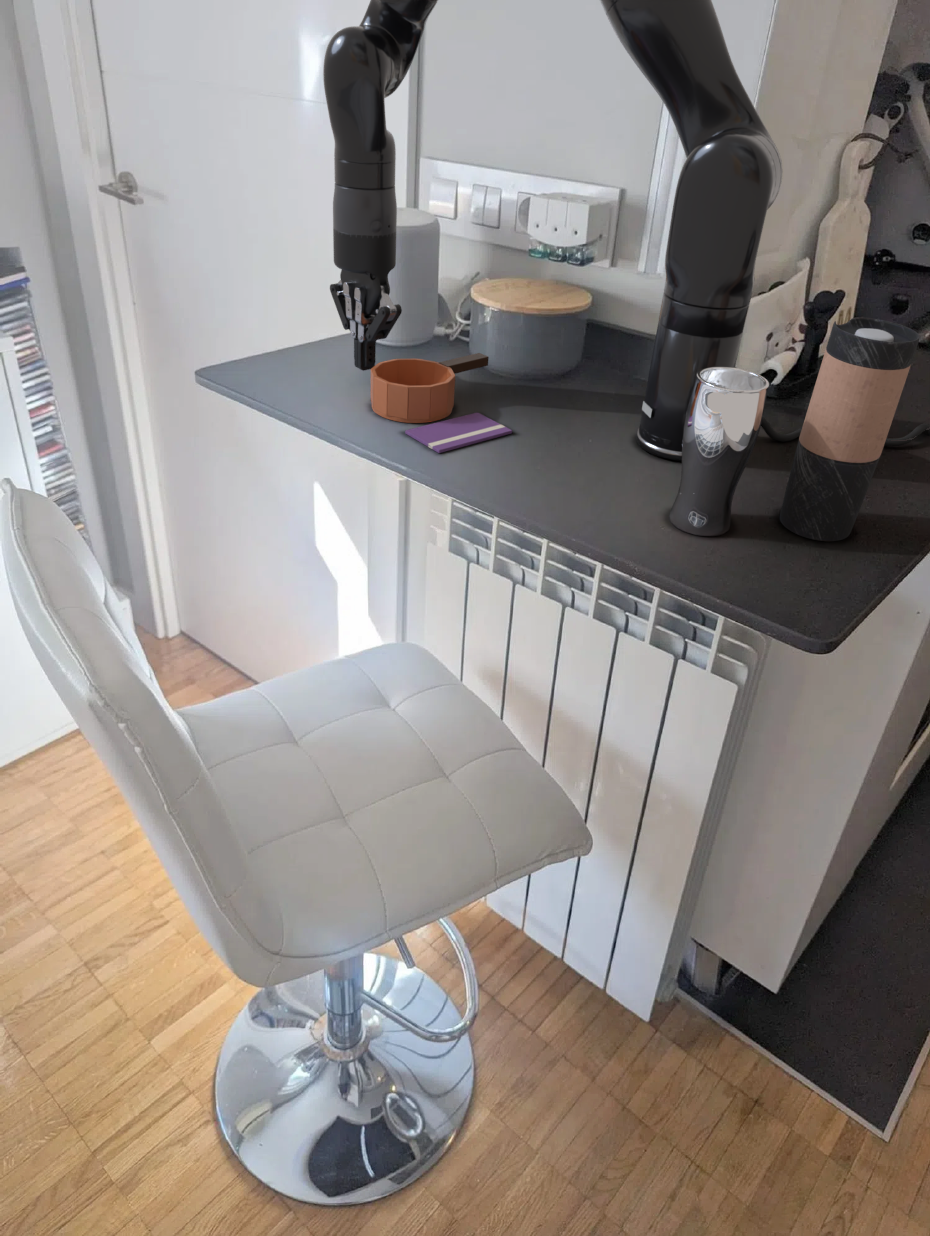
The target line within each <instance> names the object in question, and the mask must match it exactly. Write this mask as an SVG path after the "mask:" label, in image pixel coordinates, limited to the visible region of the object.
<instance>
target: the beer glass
mask: <svg viewBox="0 0 930 1236" xmlns="http://www.w3.org/2000/svg"><path fill="white" fill-rule="evenodd" d="M769 387H770V382H769V380H768V379H766V378H765V376H762V375H760V374H758V373H756V372H754V371H750V370H747V369H744V368H740V367H739V368H738V367H736V368H733V367H707V368H703V369H701V370H699V371H698V373H697V377H696V381H695V384H694V387H693V390H692V394H691V397H690V401H689V404H688V408H687V413H686V417H685V423H684V429H683V441H682V461H681V472H680V473H681V474H680V482H679V486H678V487H679V488H678V491H677V494H676V497H675V499H674V502H673V504H672V506H671V509H670V512H669V515H668V516H669V517H668V518H669V521H670V523H671V524H672V525H673V526H674V527H675V528H677V529H679V530H680V531H682V532H685V533H686V534H691V535H695V536H699V537H715V536H716V537H718V536H720V535H723V534H725V533H726V532H727V533H728V531H729V530H730V528H731V521H732V505H733V499H734V496H735V492H736V489H737V486H738V484H739V482H740V479H741V477H742V476H743V473H744V471H745V469H746V466H747V465H748V462H749V461H750V458H751V456H752V453H753V451H754V448H755V446H756V443H757V440H758V437H759V434H760V431H761V428H762V427H761V423H762V419H763V417H764V414H765V413H764V412H765V409H766V402H767V396H768V390H769Z"/></svg>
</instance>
